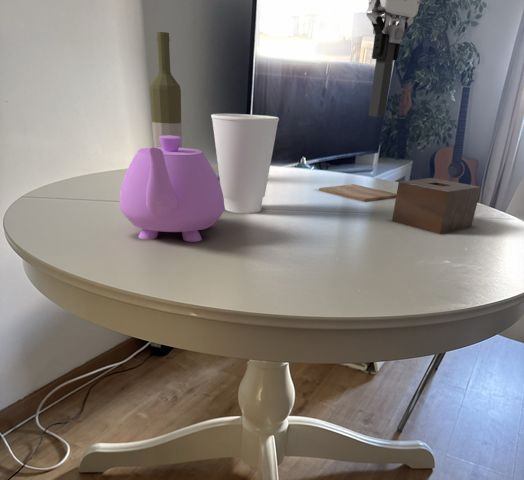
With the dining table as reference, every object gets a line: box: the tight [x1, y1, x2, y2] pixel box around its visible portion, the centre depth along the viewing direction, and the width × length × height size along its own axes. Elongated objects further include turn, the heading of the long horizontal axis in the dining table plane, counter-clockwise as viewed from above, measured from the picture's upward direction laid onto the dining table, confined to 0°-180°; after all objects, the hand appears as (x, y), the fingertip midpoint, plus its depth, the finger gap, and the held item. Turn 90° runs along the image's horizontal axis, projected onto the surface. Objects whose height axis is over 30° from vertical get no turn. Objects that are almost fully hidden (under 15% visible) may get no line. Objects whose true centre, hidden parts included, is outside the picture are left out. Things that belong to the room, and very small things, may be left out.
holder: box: [391, 177, 482, 235], centre depth 86 cm, size 10×10×7 cm
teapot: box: [119, 135, 225, 242], centre depth 70 cm, size 22×16×14 cm
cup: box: [210, 113, 280, 214], centre depth 87 cm, size 12×12×16 cm
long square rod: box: [367, 24, 404, 118], centre depth 96 cm, size 3×5×16 cm, turn 39°
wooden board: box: [318, 183, 397, 203], centre depth 111 cm, size 12×14×1 cm
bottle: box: [149, 31, 183, 148], centre depth 110 cm, size 7×7×30 cm
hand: (384, 58), depth 95 cm, fingers closed on long square rod, 2 cm apart
